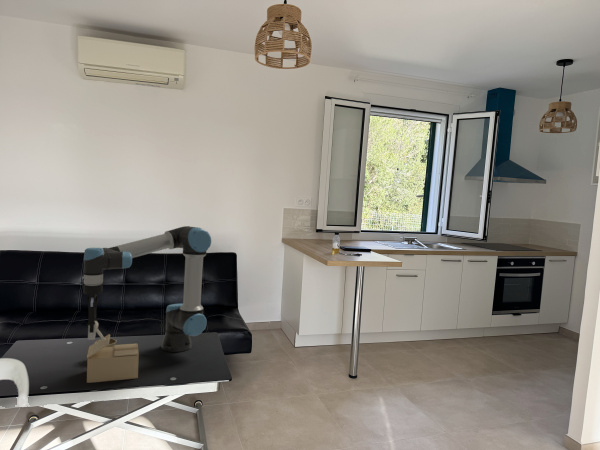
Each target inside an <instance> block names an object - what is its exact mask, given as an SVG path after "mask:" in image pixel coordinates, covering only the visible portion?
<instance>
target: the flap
mask: <svg viewBox="0 0 600 450" xmlns="http://www.w3.org/2000/svg"><path fill="white" fill-rule="evenodd" d="M95 331H96V334H97V335H98V336H99V337H100V339H98V340H99V341H98V340H97V341H98V342H96V341H95V342H96V343H95V342H94V343H93V344H91V345H89V346H88V351H87V356H86V358H87V359H88V358H89V357H90V356H92V355H94V354H95V353H97V352H98V351H100V350H101V349H103V348H104V347H106V346H108V345H109V340H110V339H111V334H110V333H108V334H107V335H106V336H104V335H103V334H102V332H101V331H100V330H99V322H98V320H97V321H95Z"/></svg>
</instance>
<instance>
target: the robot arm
mask: <svg viewBox="0 0 600 450" xmlns="http://www.w3.org/2000/svg"><path fill="white" fill-rule="evenodd" d="M211 245H212V237H211V234H210V233H209V232H208V230H206V229H205V228H201V227H195V226H188V225H187V226H185V225H184V226H181V227H178V228H173V229H171V230H166V231H164V233H162V234H158V235H155V236H151V237H147V238H142V239H139V240H135V241H131V242H127V243H122V244H119V245H115V246H111V247H87V248H85V250H84V253H83V254H84V255H83V276H82V277H81V279H82V280H83V290H82V291H83V292H82V293H83V294H84V295H89V296H88V297H87V301H86V302H87V308H88V312H87V313H88V314H87V315H88V317H87V319H88V322H87V323H86V326H87V327H88V328H87V340H88V341H89V340H90V341H93V340H94V341H95V340H96V336H97V335H96V334H97V332H96V331H95V321H97V322H98V321H99V319H98V318H97V308H98V301H99V296H98V295H100V294H102V293H103V290H104V289H103V287H104V285H103V283H104V270H105V271H106V270H119V269H122V270H124V269H129V268H130V267H131V266H132V264H133V259H134V258H138V257H141V256H145V255H148V254H151V253H152V254H153V253H155V252H159V251H162V250H167V249H169V250H174V249H182V254H183V256H184V257H185V261H184V281H183V283H184V284H183V297H182V298H183V300H182V303H173V304H169V305H167V306H166V310H165V334H164V336H163V339H162V342H161V349H162V350H163V351H165V352H172V353H178V352H184V351H188V350H190V349H191V348H192V340H191V337H197V336H199V335H200V334H202V333H203V331H205V329H206V327H207V323H208V322H207V321H208V320H207V318H206V316H205V315H204V307H203V305H202V304H201V303H202V284H203V282H202V280H203V267H204V266H203V264H204V257H206V256H207V251H208V250H209V248H210V247H211Z"/></svg>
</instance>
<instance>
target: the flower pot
mask: <svg viewBox="0 0 600 450" xmlns="http://www.w3.org/2000/svg"><path fill="white" fill-rule="evenodd" d="M99 340H100V339H97V340H96V341H95V342H94V343H96V342H98V341H99ZM117 341H118V340H117V339H115V338H110V340H109V345H108V346H106V347H115V345H117V344H116V343H117Z"/></svg>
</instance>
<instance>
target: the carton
mask: <svg viewBox="0 0 600 450" xmlns="http://www.w3.org/2000/svg"><path fill="white" fill-rule="evenodd" d="M139 357H140V355H139V345H138V343H126V344H115V347H104V348H103V349H101V350H100V351H98V352H97V353H95V354H94V355H92V356H90V357H89V358H87V361H86V362H87V367H86V369H87V370H86V384H87V383H89V384H90V383H101V382H109V381H110V382H113V381H121V380H131V379H138V378H139Z"/></svg>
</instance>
